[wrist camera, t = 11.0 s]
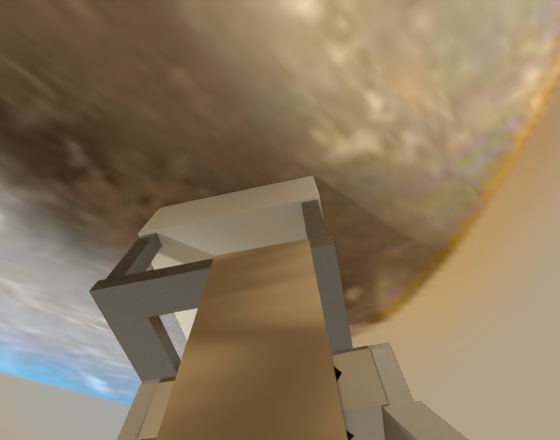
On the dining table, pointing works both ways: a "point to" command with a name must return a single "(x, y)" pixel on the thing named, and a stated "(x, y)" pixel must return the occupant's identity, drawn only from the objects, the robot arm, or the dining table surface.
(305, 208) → the guard frame
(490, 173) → the dining table surface
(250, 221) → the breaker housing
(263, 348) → the wooden toy block
